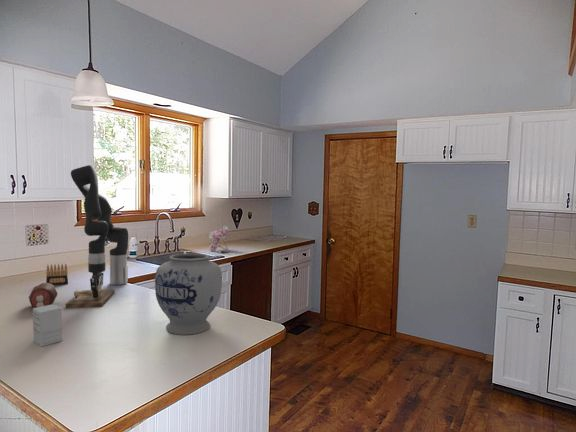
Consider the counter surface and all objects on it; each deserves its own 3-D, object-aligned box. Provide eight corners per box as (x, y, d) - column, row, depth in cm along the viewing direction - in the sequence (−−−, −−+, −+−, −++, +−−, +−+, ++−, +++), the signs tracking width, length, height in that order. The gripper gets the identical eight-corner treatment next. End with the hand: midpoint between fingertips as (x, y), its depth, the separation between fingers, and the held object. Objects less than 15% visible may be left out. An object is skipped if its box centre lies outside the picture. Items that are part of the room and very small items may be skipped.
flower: (228, 247, 366) (217, 223, 360) (240, 248, 347) (228, 223, 341) (210, 258, 355) (198, 234, 349) (221, 259, 337) (209, 234, 331)
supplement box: (54, 336, 150) (54, 303, 149) (62, 341, 145) (62, 307, 144) (32, 341, 144) (32, 307, 143) (40, 347, 139) (39, 312, 139)
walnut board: (114, 293, 210) (114, 289, 210) (102, 306, 186) (102, 302, 186) (82, 294, 207) (82, 290, 207) (65, 307, 183) (65, 303, 183)
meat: (54, 311, 178) (54, 289, 177) (24, 314, 174) (23, 292, 173) (60, 299, 196) (59, 279, 195) (33, 301, 192) (32, 281, 191)
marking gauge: (102, 296, 195) (102, 284, 195) (99, 299, 190) (99, 287, 190) (76, 296, 193) (76, 284, 192) (72, 299, 188) (72, 287, 187)
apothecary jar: (154, 319, 171) (154, 251, 168) (215, 314, 180) (216, 249, 178) (156, 342, 146) (156, 263, 143) (227, 335, 155) (228, 260, 153)
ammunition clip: (46, 285, 222) (45, 264, 221) (46, 284, 223) (46, 264, 222) (67, 284, 226) (67, 263, 225) (68, 283, 228) (67, 263, 227)
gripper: (100, 264, 185) (101, 300, 186) (108, 259, 199) (109, 292, 200) (83, 264, 183) (84, 300, 184) (93, 259, 197) (93, 292, 198)
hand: (97, 296), depth 192 cm, fingers closed on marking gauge, 5 cm apart
